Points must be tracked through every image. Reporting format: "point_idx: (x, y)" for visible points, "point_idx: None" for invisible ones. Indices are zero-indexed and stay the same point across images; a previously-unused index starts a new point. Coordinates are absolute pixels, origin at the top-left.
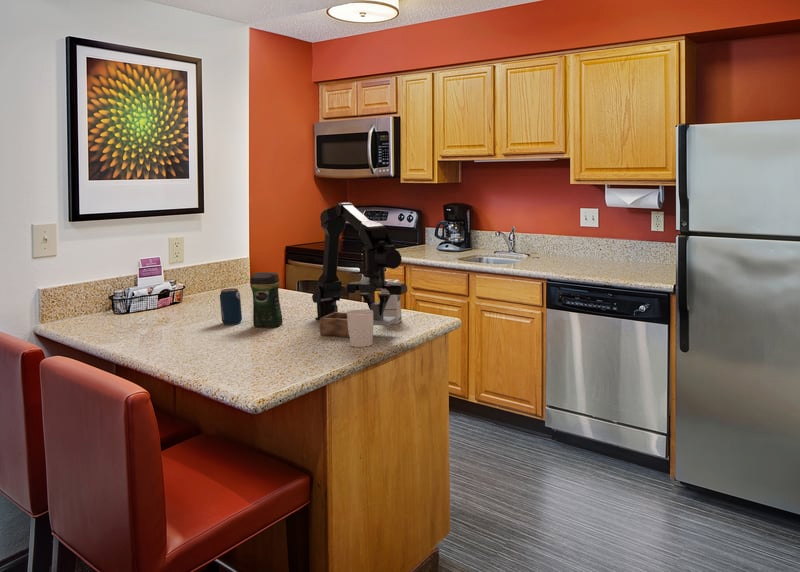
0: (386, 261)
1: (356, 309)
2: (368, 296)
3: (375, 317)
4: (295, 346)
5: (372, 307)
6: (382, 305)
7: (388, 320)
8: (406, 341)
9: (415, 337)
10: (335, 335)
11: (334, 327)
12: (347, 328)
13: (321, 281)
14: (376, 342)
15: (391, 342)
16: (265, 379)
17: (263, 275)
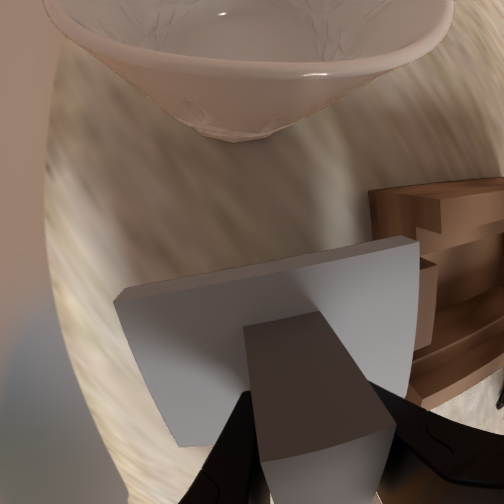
0: None
1: (437, 26)
2: (488, 499)
3: (277, 334)
4: (463, 10)
5: (346, 400)
6: (204, 474)
7: (148, 353)
8: (49, 261)
9: (67, 345)
10: (461, 181)
11: (493, 182)
12: (437, 188)
13: None
14: (176, 157)
15: (96, 203)
16: None
17: None
